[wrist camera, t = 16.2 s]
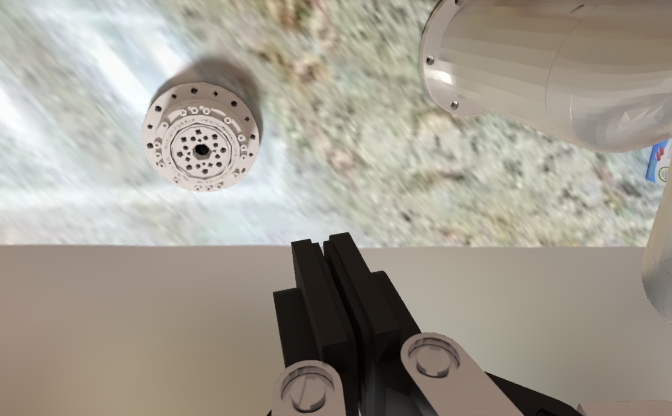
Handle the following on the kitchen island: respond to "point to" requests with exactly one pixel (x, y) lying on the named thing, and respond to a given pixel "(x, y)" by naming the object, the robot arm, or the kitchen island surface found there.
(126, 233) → the kitchen island surface
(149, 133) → the mechanical component
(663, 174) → the medicine box
